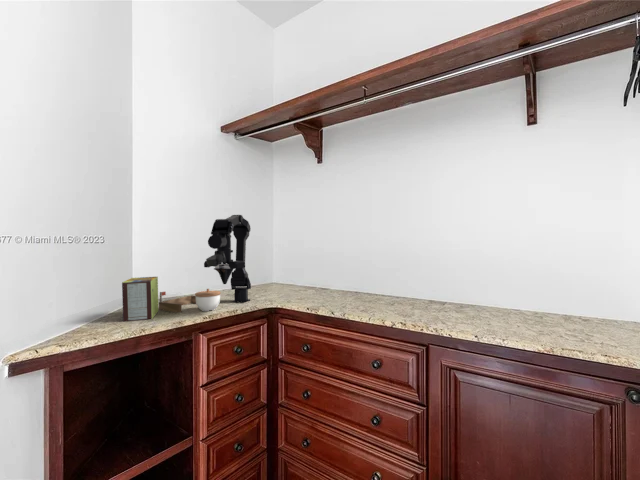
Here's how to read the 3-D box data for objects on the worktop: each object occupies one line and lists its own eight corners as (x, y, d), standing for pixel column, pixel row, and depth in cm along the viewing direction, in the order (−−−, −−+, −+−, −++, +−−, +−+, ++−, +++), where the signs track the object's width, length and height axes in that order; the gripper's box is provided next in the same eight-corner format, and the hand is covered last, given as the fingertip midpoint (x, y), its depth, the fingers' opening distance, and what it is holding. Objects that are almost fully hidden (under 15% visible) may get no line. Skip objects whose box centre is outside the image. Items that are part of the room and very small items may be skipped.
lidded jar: (190, 312, 141) (190, 290, 141) (203, 307, 152) (203, 286, 152) (213, 312, 139) (212, 290, 139) (225, 307, 150) (224, 287, 150)
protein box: (158, 311, 144) (158, 276, 144) (152, 319, 129) (151, 280, 129) (132, 313, 141) (131, 277, 141) (122, 321, 126) (121, 282, 126)
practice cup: (191, 302, 163) (191, 286, 163) (211, 304, 157) (211, 287, 157) (158, 309, 147) (158, 292, 146) (179, 312, 141) (178, 294, 140)
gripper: (193, 248, 138) (194, 285, 138) (227, 248, 129) (228, 288, 129) (213, 247, 148) (213, 282, 148) (245, 247, 139) (246, 284, 139)
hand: (224, 284), depth 141 cm, fingers closed
